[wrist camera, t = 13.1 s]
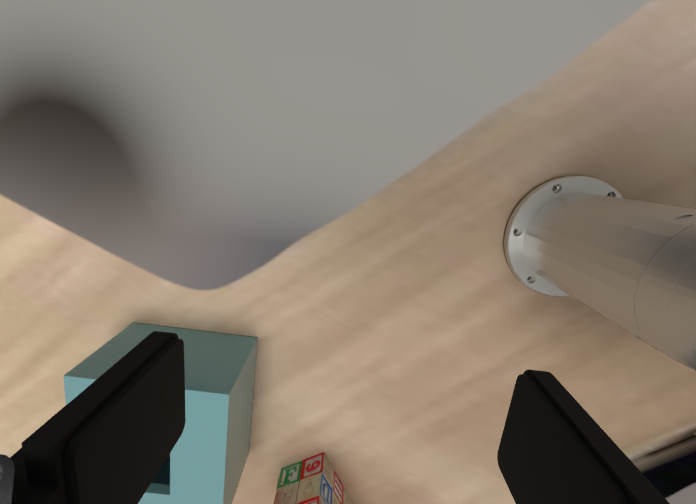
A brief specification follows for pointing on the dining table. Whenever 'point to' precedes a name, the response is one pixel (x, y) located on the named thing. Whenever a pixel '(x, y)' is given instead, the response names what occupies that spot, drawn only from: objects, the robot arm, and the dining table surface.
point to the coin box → (194, 411)
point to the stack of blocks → (310, 483)
